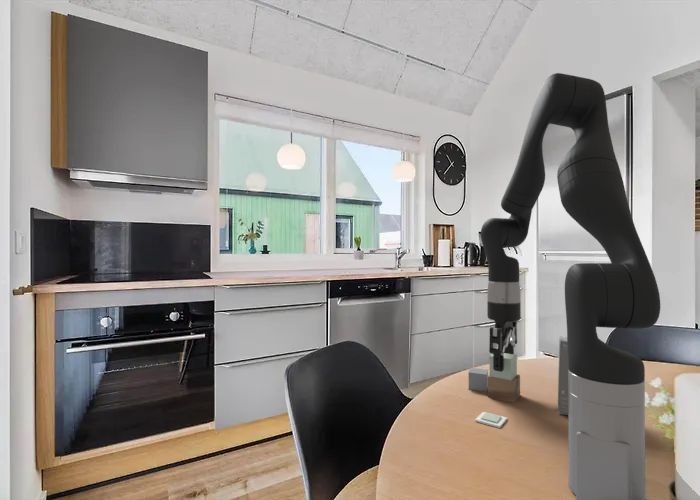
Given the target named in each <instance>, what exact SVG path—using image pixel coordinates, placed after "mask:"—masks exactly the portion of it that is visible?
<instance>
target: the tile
mask: <svg viewBox="0 0 700 500" xmlns="http://www.w3.org/2000/svg"><path fill="white" fill-rule="evenodd" d="M507 420H508V417H506V416H502V415H497V414H495V413H491V412H486V411H482V412H481V413H480V414H479V415H478V416H477V417H476V418H475V419H474V422H476V423H479V424H483V425H487V426H491V427H494V428H499V429H501V427H502V426H503V425H504V424H505V423H506V422H507Z"/></svg>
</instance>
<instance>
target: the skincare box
mask: <svg viewBox="0 0 700 500" xmlns="http://www.w3.org/2000/svg"><path fill="white" fill-rule="evenodd" d="M558 338H559V348H558V377H557V380H558V381H557V383H558V384H557V411H558V414H559V415H564V416H568V347H567V336H559V337H558Z"/></svg>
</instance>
